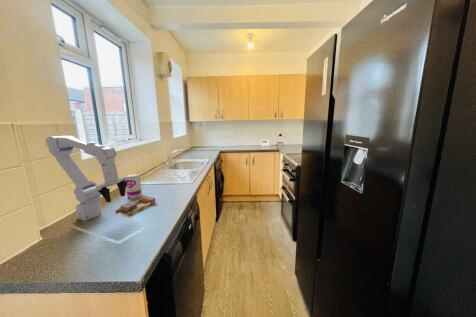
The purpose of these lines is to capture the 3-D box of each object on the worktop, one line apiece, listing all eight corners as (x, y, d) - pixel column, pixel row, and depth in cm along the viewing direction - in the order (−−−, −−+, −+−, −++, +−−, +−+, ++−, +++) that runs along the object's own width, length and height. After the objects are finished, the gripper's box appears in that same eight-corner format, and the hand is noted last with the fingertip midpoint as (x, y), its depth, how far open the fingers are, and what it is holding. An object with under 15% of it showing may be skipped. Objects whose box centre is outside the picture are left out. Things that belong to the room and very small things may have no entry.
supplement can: (137, 200, 120) (135, 177, 117) (124, 200, 120) (121, 177, 117) (144, 195, 128) (141, 173, 125) (132, 195, 128) (129, 173, 125)
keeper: (128, 214, 100) (128, 207, 99) (121, 212, 102) (120, 205, 101) (137, 209, 104) (136, 203, 103) (129, 208, 106) (128, 202, 106)
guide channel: (129, 219, 96) (128, 211, 95) (112, 214, 101) (111, 207, 100) (157, 205, 112) (156, 198, 111) (141, 201, 117) (140, 195, 117)
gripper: (100, 176, 85) (107, 205, 87) (129, 168, 98) (134, 193, 100) (90, 176, 87) (97, 204, 90) (119, 168, 101) (124, 193, 103)
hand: (116, 198), depth 95 cm, fingers open, 7 cm apart
